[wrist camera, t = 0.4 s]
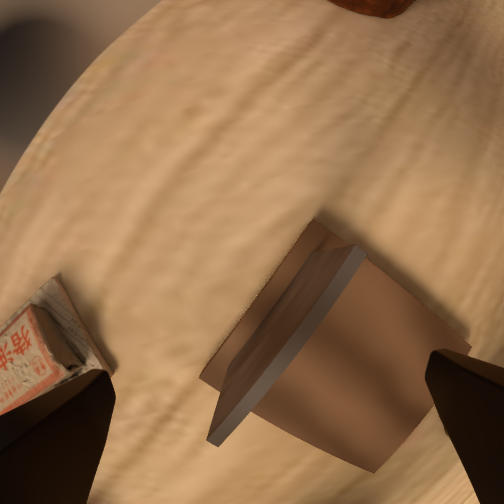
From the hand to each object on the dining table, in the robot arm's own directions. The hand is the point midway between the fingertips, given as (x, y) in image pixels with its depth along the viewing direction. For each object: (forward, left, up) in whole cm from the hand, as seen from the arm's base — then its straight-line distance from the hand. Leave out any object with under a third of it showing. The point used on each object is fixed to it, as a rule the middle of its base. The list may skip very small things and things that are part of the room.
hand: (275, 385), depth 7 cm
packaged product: (-19, +14, -16) cm, 29 cm away
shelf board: (0, -8, -15) cm, 17 cm away
